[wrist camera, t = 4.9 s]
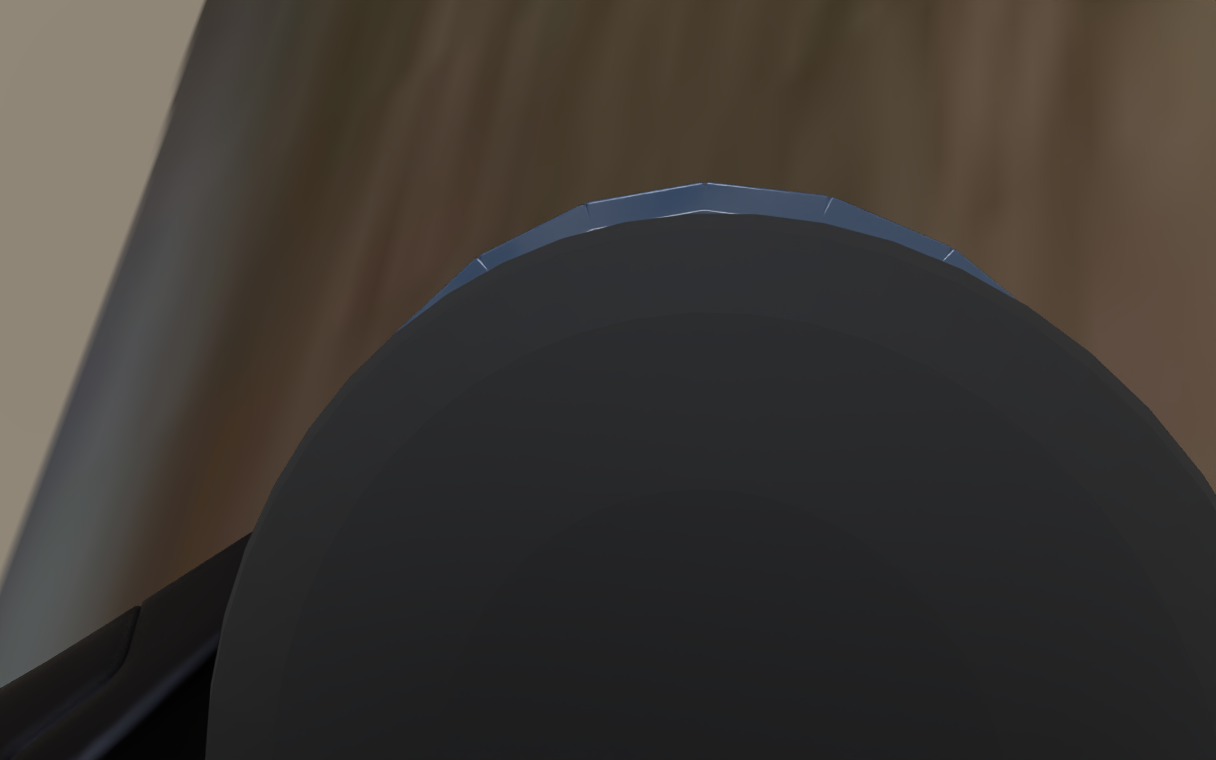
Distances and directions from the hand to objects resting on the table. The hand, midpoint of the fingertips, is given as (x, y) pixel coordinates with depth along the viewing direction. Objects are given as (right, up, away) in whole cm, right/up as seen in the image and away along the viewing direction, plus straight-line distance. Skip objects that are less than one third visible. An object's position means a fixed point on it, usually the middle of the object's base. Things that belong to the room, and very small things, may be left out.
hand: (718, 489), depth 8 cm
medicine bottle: (+1, -3, +6) cm, 7 cm away
